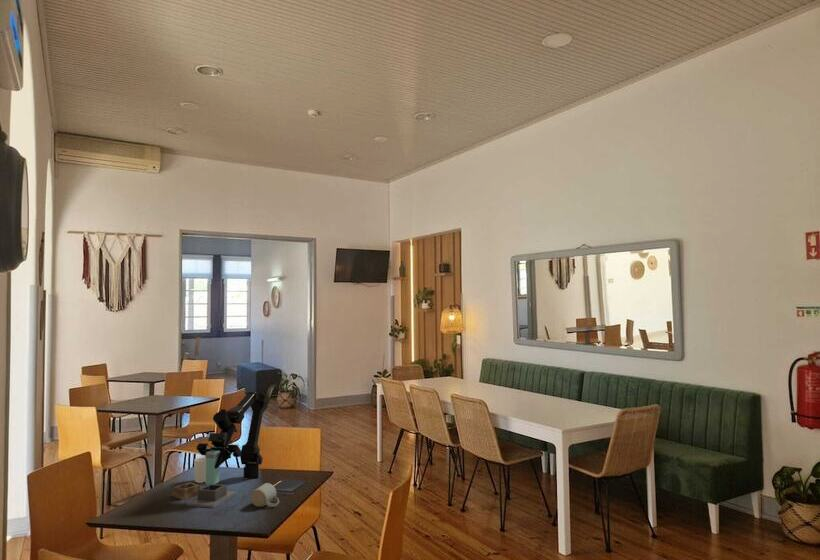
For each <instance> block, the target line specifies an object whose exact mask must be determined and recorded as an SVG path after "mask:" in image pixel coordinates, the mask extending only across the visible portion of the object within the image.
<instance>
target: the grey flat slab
mask: <svg viewBox="0 0 820 560" xmlns="http://www.w3.org/2000/svg"><path fill="white" fill-rule="evenodd" d="M281 480H282V481H281ZM281 480H280V481H278V482H277V483H275V484H272V485H273V486H274V487H275V489H276V495H277V494H294V493H293V492H295V491H296V490H297V489H299V488H300V487H302V486H303V485H304V484H306V483H309V482H310V481H308V480H300V479H288V478H287V479H286V478H284V479H281ZM294 495H295V494H294Z"/></svg>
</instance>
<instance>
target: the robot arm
mask: <svg viewBox="0 0 820 560" xmlns="http://www.w3.org/2000/svg"><path fill="white" fill-rule="evenodd" d="M269 404H270V397H269V396H268V395H267V394H263V393H259V392H257V391H248V392H246V394H245V396H243V398H242V399H241V400H240V401H239V403H238V404H236V406H233V407H231V408H229V409H228V410H226V409H225V408H224V409H223V408H222V409H220V411H217V412H216V413H215V414H214V415H213V417H212V420H213V421H214V423H215V424H216V426H217V428H218V429H219V430H220V431H219V433H218V432H210V433H209V435H208V439H207V441H208V442H211V445H209V444H208V442H207V443H206V442H199V443H198V444H197V445H196V447H195V449H196V450H197V451H198V453H199V454H200V455H201V456H206V452H209V451H211V450H220V455H219V458H218V460H217V462H216V464H215V469H216V468H218V467H219V466H221V465H222V464H224V463H225V462H226V461H227V460H229V459H231V458H232V456H233V457H234V458H240V463H241V465H244V467H243V478H244V479H245V478H251V479H257V478H256V477H260V476H259V475H260V474H259V472H260V471H259V468H260V465H262V464H263V457H262V455H261V453H260V452H261V450H260V447H259V446H260V445H259V444H258V442H259V435H260V432H261V427H262V426H261V425H262V421H263V420H262V419H263V415H264V412H266V410H267V409H268V406H269ZM249 408H251V410H252V414H251V420H250V426H249V431H248V436H247V442H246V443H245V444H242V446H241V447H239V445H238V444H233V443H232V442H233V441H232V438H233V435H234V434H235V433H238V429H237V426H236V425H235V424H241V423H242V421H243V420H244V419H245V413H246V412H247V411H248V410H249ZM219 468H220V467H219Z"/></svg>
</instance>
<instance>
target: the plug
mask: <svg viewBox="0 0 820 560" xmlns="http://www.w3.org/2000/svg"><path fill="white" fill-rule="evenodd" d="M219 455H220V450H211V451H209V452H206V455H205V457H206V482H205V485H214V484H219V482H220V466H221V465H220V466H219V467H218V468H216V469H215V464H216V462H217V460H218V458H219Z"/></svg>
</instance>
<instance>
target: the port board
mask: <svg viewBox="0 0 820 560" xmlns="http://www.w3.org/2000/svg"><path fill="white" fill-rule="evenodd" d="M236 495H237V490H236V491H233V490H228V486H227V484H219V483H216V484H214V485H208V484H206V485H205V486H203V487H202V488H201V487H200V489H199V490H198V495H197V497H196V498H194V499H192V500H190V501H188V502H186V507H195V508H198V507H199V508H209V509H210V508H211V509H213V508H216V507H217V506H219V505H221V504H222V503H225V502H226V501H227V500H229V499H231V498H232V497H234V496H236Z"/></svg>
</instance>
